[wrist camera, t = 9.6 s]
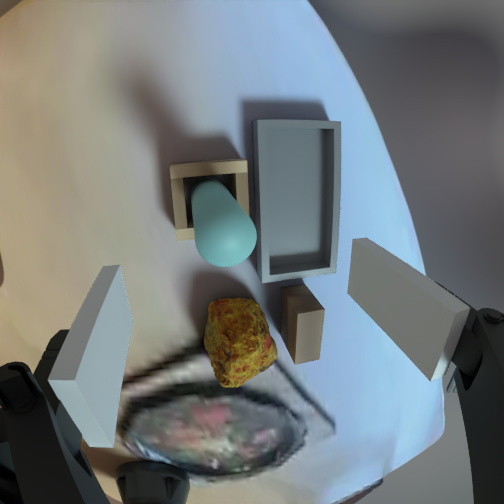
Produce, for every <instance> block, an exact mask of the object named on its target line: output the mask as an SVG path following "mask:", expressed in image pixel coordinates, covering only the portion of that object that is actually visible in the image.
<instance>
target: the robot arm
mask: <svg viewBox="0 0 504 504" xmlns="http://www.w3.org/2000/svg"><path fill="white" fill-rule="evenodd" d="M347 293H348V294H349V295H350V296H351V297H352V298H353V300H354V301H355V302H356V303H357V304H358V305H359V306H360V307H361V308H362V309H363V310H364V311H365V312H366V313H367V314H368V315H369V316H370V317H371V318H372V319H373V320H374V321H375V322H376V323H377V324H378V326H379V327H380V328H381V329H382V330H383V331H384V332H385V333H386V334H387V335H388V336H389V337H390V338H391V339H392V340H393V341H394V343H395V344H396V345H397V346H398V347H399V348H400V349H401V350H402V351H403V352H404V353H405V354H406V355H407V357H408V358H409V359H410V360H411V361H412V362H413V363H414V364H415V365H416V366H417V367H418V369H419V370H420V371H421V372H422V373H423V374H424V375H425V376H426V377H427V378H428V380H429V381H430V382H431V381H433V380H435V379H437V378H439V377H441V376H443V375H445V374H446V372H447V370H448V368H449V365H450V363H451V361H452V362H453V363H454V364H455V365H456V366H457V367H456V369H455V371H454V374H453V376H452V378H451V380H450V382H449V385H448V386H447V393H448V392H450V390H451V388H452V386H453V384H456V386H455V388H454V390H453V392H458V396H459V401H460V405H461V410H462V414H463V420H464V425H465V431H466V437H467V442H468V449H469V456H470V464H471V472H472V482H473V495H474V504H504V314H503V313H501V312H499V311H497V310H495V309H490V308H483V309H480V310H478V311H477V310H475V309H474V308H473V307H471V306H470V305H469V304H467V303H466V302H464V301H463V300H462V299H460V298H459V297H457V296H456V295H455V296H454V294H453V293H452V292H450V291H447V289H446V288H445V287H443V286H442V285H440V284H439V283H437V282H434V281H432V280H431V279H429V278H428V277H426V276H425V275H423V274H422V273H420V272H419V271H418V270H416V269H415V268H413V267H412V266H410V265H409V264H407V263H405V262H404V261H402V260H401V259H399V258H398V257H396V256H395V255H393V254H392V253H390V252H389V251H387V250H385V249H384V248H382V247H381V246H379V245H378V244H376V243H374V242H373V241H371V240H370V239H368V238H359V239H353V240H352V253H351V264H350V274H349V283H348V292H347ZM133 323H134V322H133V318H132V314H131V310H130V306H129V302H128V298H127V294H126V289H125V285H124V281H123V276H122V271H121V267H120V265H112V266H103V267H102V269H101V271H100V272H99V274H98V276H97V278H96V280H95V281H94V283H93V285H92V287H91V289H90V291H89V293H88V295H87V296H86V298H85V300H84V302H83V304H82V306H81V308H80V310H79V312H78V314H77V316H76V318H75V320H74V322H73V324H72V326H71V328H70V329H68V330H60V331H59V332H58V333H56V334H55V335H54V336H53V337H52V338H51V339H50V341H49V343H48V345H47V347H46V351H44V353H43V355H42V357H41V358H42V360H41V359H40V361H39V364H38V366H37V368H36V370H35V372H34V374H32V372H31V370H30V368H29V366H28V365H26V364H25V363H23V362H11V363H7V364H5V365H3V366H1V367H0V405H1V407H2V408H0V504H110V502H109V500H108V499H107V497H106V495H105V493H104V491H103V490H102V488H101V486H100V484H99V482H98V480H97V478H96V476H95V474H94V472H93V470H92V468H91V466H90V464H89V462H88V460H87V458H86V456H85V454H84V453H83V451H82V450H81V449H80V442H81V437H83V438H84V440H85V441H86V442H87V444H88V445H89V447H107V448H113V447H114V438H115V429H116V421H117V414H118V406H119V399H120V393H121V386H122V380H123V374H124V369H125V363H126V357H127V352H128V347H129V342H130V337H131V332H132V327H133ZM116 484H117V487H118V490H119V493H120V496H121V499H122V502H123V504H186V501H187V497H188V494H189V490H190V482H189V477H188V475H187V474H186V473H185V472H184V471H182V470H180V469H178V468H176V467H173V466H170V465H166V464H162V463H156V462H131V463H126V464H124V465H121V466H120V467H118V469H117V470H116Z"/></svg>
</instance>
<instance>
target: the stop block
mask: <svg viewBox="0 0 504 504" xmlns="http://www.w3.org/2000/svg"><path fill="white" fill-rule="evenodd" d="M324 311H325V309H324V308H323V306H322V305H321V304H320V303H319V301H318V300H317V299H316V298H315V296H314V295H313V294H312V292H311V291H310V290H309V289H308V287H307V286H306V285H305V284H301V285H294V286H287V287H281V327H280V335H281V337H282V339H283V341H284V343H285V345H286V347H287V350H288V352H289V354H290V356H291V358H292V360H293V362H294V364H300V363H305V362H309V361H314V360H318V359H319V357H320V349H321V340H322V331H323V321H324Z"/></svg>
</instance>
